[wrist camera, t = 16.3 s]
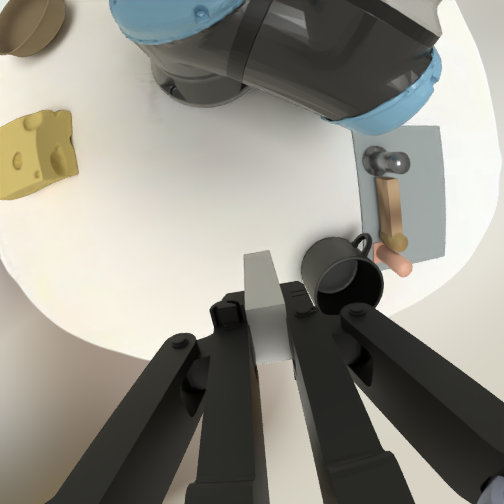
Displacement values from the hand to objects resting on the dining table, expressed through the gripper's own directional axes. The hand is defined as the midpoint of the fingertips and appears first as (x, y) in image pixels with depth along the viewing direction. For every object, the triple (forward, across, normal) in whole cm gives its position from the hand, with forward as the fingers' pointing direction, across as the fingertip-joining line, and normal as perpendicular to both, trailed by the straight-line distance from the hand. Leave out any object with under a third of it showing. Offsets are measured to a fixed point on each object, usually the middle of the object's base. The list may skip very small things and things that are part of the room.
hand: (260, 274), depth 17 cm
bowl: (+25, -28, +38) cm, 53 cm away
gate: (+23, +19, -3) cm, 30 cm away
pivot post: (+24, +19, +4) cm, 31 cm away
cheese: (+25, -29, +15) cm, 41 cm away
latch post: (+24, +19, -10) cm, 32 cm away
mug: (+25, +11, -10) cm, 29 cm away
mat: (+24, +24, -2) cm, 34 cm away
